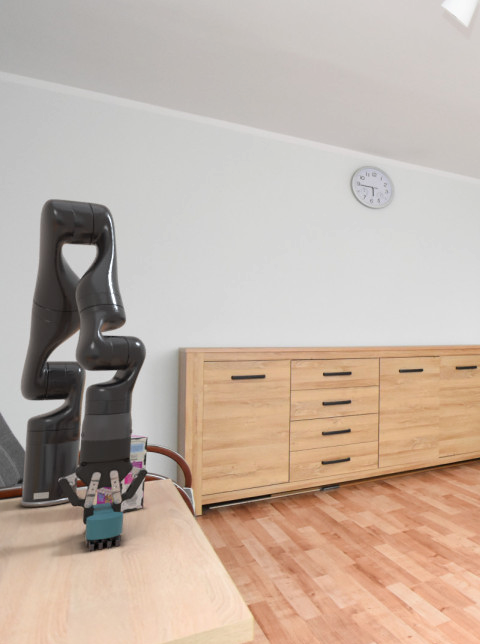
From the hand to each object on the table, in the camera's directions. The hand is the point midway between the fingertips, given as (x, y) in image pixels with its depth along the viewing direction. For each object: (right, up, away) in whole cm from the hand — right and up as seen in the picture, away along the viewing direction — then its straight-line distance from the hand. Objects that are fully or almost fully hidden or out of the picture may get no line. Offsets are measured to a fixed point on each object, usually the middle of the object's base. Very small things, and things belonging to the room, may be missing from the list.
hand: (101, 523), depth 110 cm
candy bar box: (-12, -3, +19) cm, 23 cm away
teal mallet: (+2, -1, -2) cm, 3 cm away
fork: (+1, -2, -1) cm, 3 cm away
